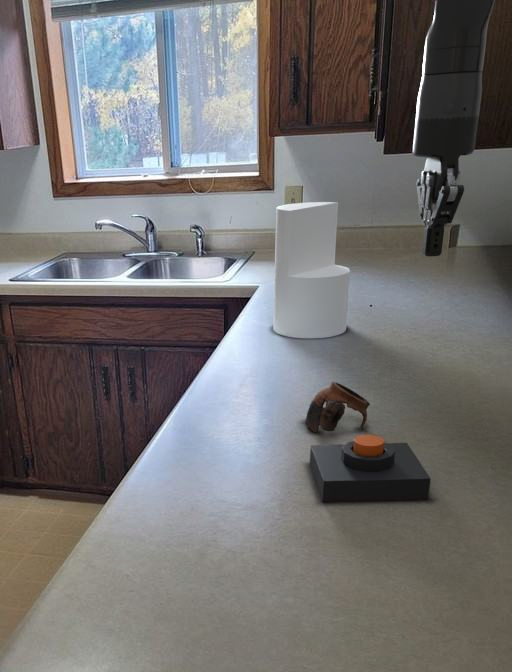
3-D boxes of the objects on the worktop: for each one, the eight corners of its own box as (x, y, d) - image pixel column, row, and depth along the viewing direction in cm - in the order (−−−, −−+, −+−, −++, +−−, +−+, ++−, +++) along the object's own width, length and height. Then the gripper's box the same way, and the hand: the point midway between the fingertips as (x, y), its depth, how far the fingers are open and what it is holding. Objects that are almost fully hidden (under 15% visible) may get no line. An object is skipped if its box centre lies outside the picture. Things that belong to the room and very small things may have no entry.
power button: (379, 445, 104) (380, 434, 104) (386, 457, 101) (387, 445, 100) (350, 446, 105) (351, 435, 104) (356, 458, 101) (357, 446, 100)
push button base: (404, 462, 110) (408, 431, 107) (428, 499, 99) (432, 466, 97) (309, 464, 110) (311, 433, 108) (322, 502, 100) (324, 469, 98)
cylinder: (258, 330, 180) (260, 208, 167) (303, 316, 190) (308, 200, 177) (315, 342, 168) (322, 212, 155) (360, 327, 178) (370, 203, 165)
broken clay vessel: (303, 416, 129) (329, 375, 126) (351, 445, 127) (377, 404, 125) (294, 425, 118) (321, 380, 115) (345, 456, 116) (375, 411, 113)
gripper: (496, 112, 87) (476, 262, 95) (460, 113, 99) (444, 246, 107) (432, 116, 88) (416, 265, 95) (403, 116, 100) (391, 248, 107)
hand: (431, 255), depth 101 cm, fingers closed
